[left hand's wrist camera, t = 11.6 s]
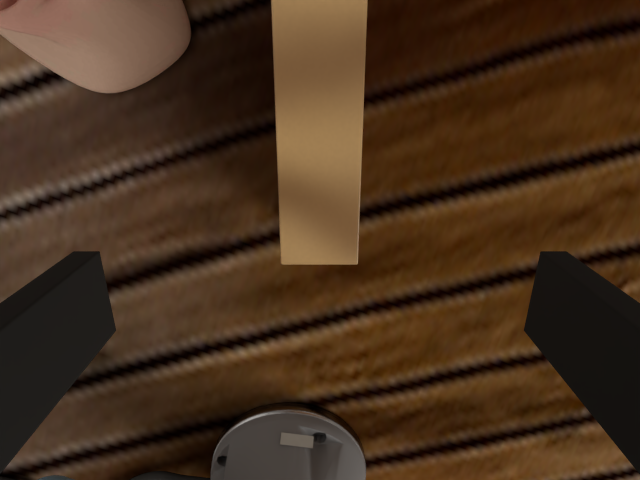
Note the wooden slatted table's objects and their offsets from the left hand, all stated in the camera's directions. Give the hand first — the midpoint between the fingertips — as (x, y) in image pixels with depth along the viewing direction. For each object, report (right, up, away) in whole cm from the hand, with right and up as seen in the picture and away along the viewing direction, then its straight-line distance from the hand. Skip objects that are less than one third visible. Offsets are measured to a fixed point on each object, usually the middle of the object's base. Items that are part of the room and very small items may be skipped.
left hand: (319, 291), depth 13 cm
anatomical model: (-15, +17, +15) cm, 28 cm away
